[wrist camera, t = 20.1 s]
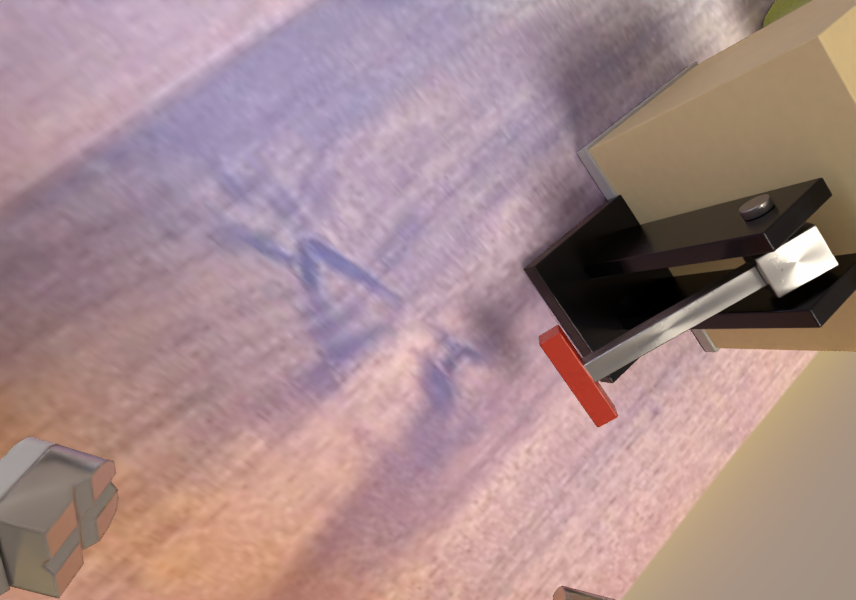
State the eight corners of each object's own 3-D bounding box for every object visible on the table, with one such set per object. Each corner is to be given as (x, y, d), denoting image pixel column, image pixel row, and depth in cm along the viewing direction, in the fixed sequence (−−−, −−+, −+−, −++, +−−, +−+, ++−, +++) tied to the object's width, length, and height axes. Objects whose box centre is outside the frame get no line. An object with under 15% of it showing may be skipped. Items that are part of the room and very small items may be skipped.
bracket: (600, 382, 40) (806, 407, 26) (522, 269, 39) (696, 231, 25) (697, 290, 43) (929, 268, 29) (628, 181, 42) (836, 104, 28)
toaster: (705, 352, 43) (1001, 362, 27) (575, 153, 41) (815, 31, 24) (801, 256, 46) (1116, 214, 30) (686, 67, 44) (963, -91, 28)
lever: (593, 412, 33) (599, 434, 31) (537, 332, 33) (539, 348, 30) (831, 281, 30) (858, 294, 28) (775, 187, 29) (797, 193, 27)
